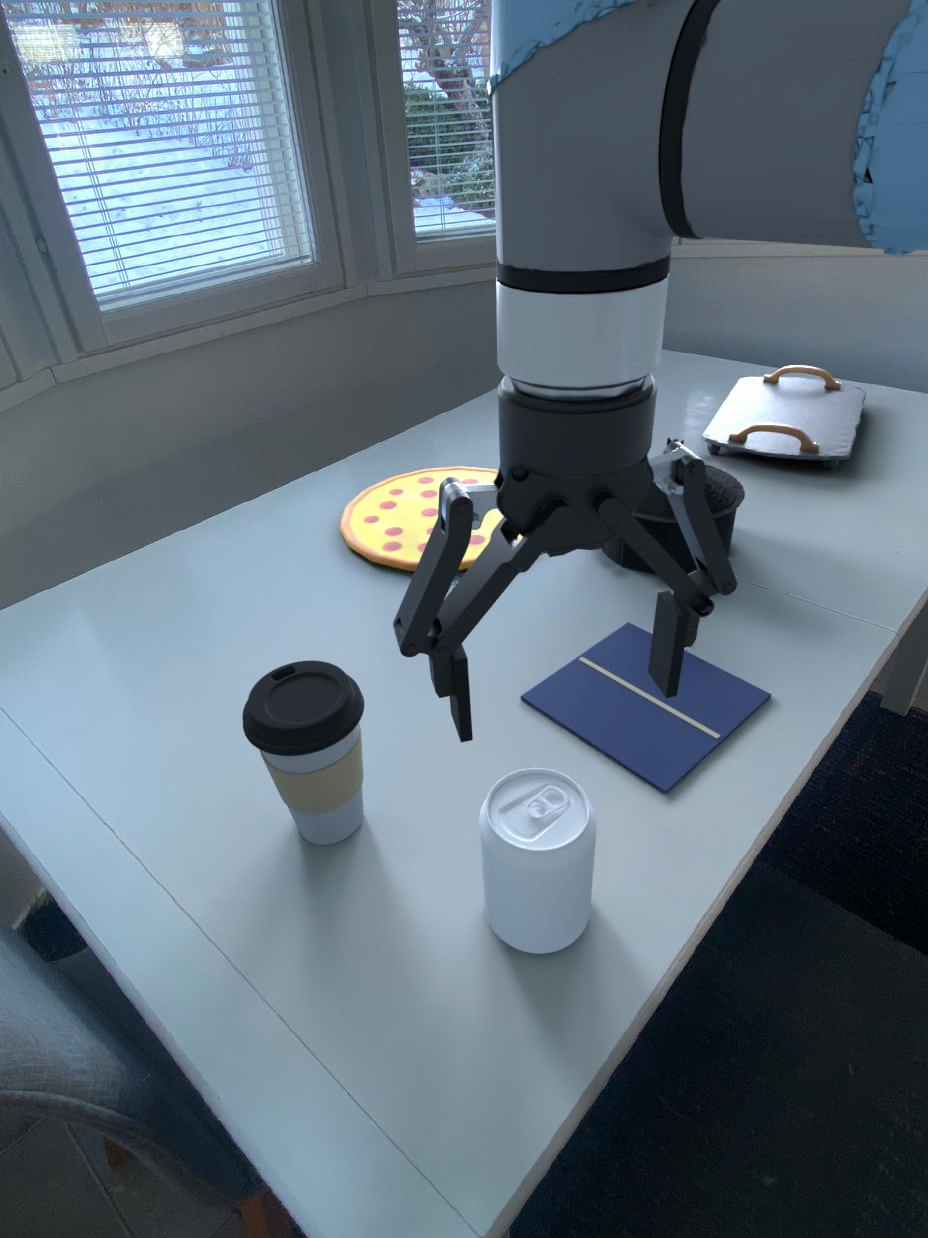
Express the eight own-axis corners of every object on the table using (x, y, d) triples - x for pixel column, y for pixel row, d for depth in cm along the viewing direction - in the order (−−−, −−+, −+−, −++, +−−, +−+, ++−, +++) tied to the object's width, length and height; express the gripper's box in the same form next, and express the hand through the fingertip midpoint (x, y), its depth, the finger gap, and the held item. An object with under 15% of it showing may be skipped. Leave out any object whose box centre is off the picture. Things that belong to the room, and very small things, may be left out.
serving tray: (740, 386, 148) (745, 354, 144) (866, 398, 138) (875, 365, 135) (692, 459, 121) (697, 423, 117) (845, 482, 111) (855, 443, 108)
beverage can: (464, 902, 57) (454, 801, 50) (540, 846, 61) (541, 745, 54) (532, 981, 52) (532, 881, 45) (612, 915, 56) (623, 813, 49)
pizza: (590, 495, 112) (590, 488, 112) (478, 598, 91) (477, 591, 90) (423, 457, 127) (422, 451, 127) (294, 538, 106) (292, 531, 106)
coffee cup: (318, 766, 70) (287, 643, 61) (403, 797, 66) (383, 670, 57) (254, 841, 63) (210, 715, 54) (345, 880, 60) (313, 752, 51)
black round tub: (573, 560, 97) (577, 455, 89) (622, 502, 110) (629, 405, 101) (712, 593, 89) (732, 481, 81) (747, 527, 102) (768, 424, 93)
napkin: (771, 697, 74) (772, 693, 74) (665, 794, 65) (666, 791, 65) (628, 624, 85) (628, 621, 85) (520, 698, 76) (520, 695, 76)
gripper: (769, 323, 39) (711, 635, 52) (306, 382, 35) (364, 705, 48) (862, 362, 33) (772, 703, 46) (318, 439, 29) (381, 791, 42)
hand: (564, 705), depth 47 cm, fingers open, 13 cm apart
